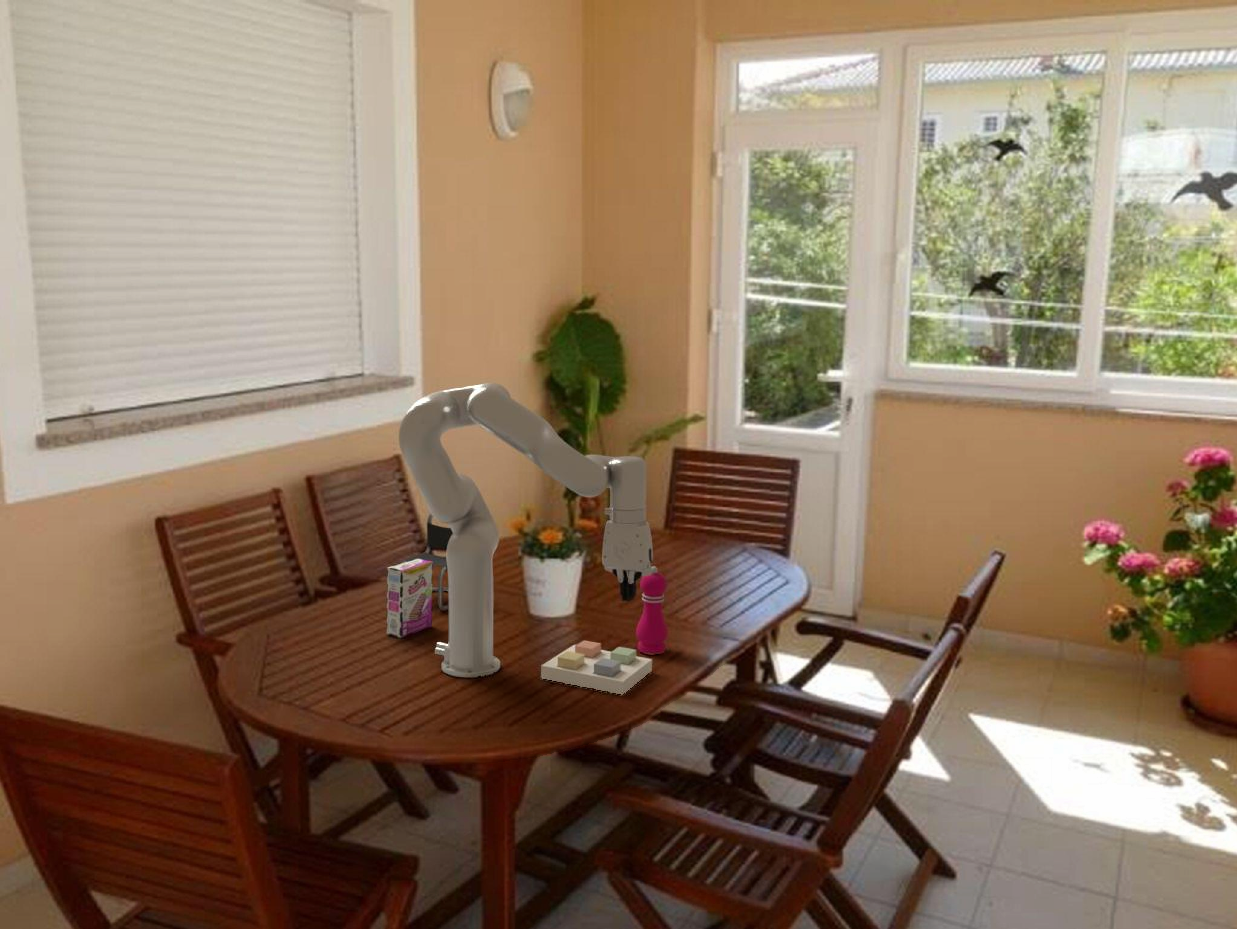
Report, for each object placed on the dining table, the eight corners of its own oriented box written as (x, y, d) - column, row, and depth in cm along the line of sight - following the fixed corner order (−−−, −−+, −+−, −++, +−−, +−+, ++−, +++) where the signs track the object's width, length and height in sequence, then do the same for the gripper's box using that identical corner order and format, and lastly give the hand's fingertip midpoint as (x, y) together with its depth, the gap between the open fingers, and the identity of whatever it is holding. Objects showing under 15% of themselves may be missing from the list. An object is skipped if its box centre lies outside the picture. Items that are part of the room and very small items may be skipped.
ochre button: (557, 667, 228) (557, 657, 228) (566, 661, 232) (567, 651, 232) (575, 671, 226) (575, 660, 226) (584, 665, 230) (584, 654, 230)
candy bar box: (402, 639, 251) (401, 570, 249) (386, 635, 254) (385, 567, 251) (433, 626, 261) (433, 560, 258) (418, 622, 263) (417, 557, 261)
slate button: (593, 675, 225) (593, 664, 224) (602, 668, 228) (602, 657, 228) (611, 678, 223) (612, 667, 223) (620, 672, 227) (620, 661, 226)
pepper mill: (640, 657, 243) (643, 571, 240) (631, 646, 250) (634, 563, 247) (671, 655, 245) (674, 569, 242) (661, 644, 252) (664, 561, 249)
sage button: (610, 663, 232) (610, 652, 231) (618, 657, 236) (618, 646, 235) (628, 666, 230) (628, 655, 230) (636, 660, 234) (636, 649, 233)
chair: (477, 595, 287) (477, 514, 283) (441, 613, 271) (441, 527, 267) (435, 589, 292) (435, 509, 288) (397, 606, 276) (397, 522, 272)
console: (541, 679, 229) (541, 665, 228) (573, 657, 242) (574, 644, 242) (622, 695, 221) (622, 681, 220) (651, 672, 234) (652, 659, 234)
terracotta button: (575, 656, 235) (575, 645, 235) (583, 650, 239) (583, 640, 239) (592, 659, 234) (592, 649, 233) (600, 653, 237) (601, 643, 237)
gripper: (588, 515, 227) (588, 600, 230) (653, 522, 221) (653, 609, 224) (603, 509, 234) (604, 591, 237) (667, 515, 228) (667, 599, 231)
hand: (628, 599), depth 230 cm, fingers closed
